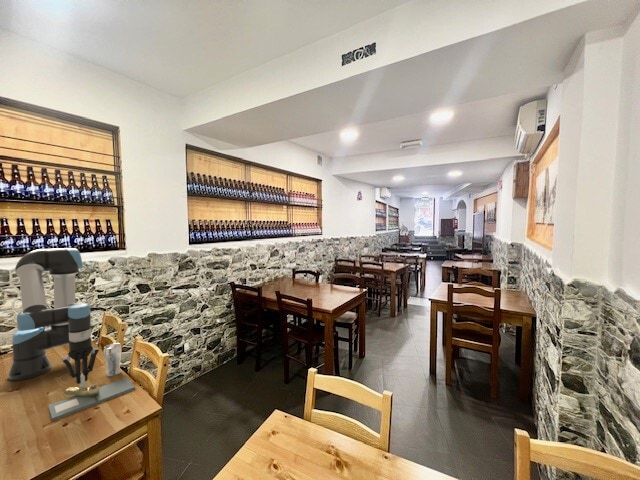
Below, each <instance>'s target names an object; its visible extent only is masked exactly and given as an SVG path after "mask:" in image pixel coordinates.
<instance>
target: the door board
mask: <svg viewBox="0 0 640 480" xmlns="http://www.w3.org/2000/svg"><path fill="white" fill-rule="evenodd" d="M135 389H136V387H135V385H134V384H133V383H132V381H131V380H130V379H129V378H128V377H124V378H122V379H119V380H115V381H114V382H110V383H108V384H105V385H102V386H99V394H98V395H96V396H94V397H89V396H71V397H68V398H65V399H62V400H59V401H57V402H53V403H51V404H48V411H49V415H50V418H51V421H52V422H54V421H57V420H59V419H61V418H64V417H68V416H70V415H72V414H74V413H77V412H81V411H83V410H86V409H88V408H90V407H94V406H96V405H98V404H101V403H103V402H106V401H108V400H112V399H114V398H116V397H119V396H121V395H124V394H126V393H129V392H131V391H135Z"/></svg>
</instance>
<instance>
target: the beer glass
mask: <svg viewBox="0 0 640 480" xmlns="http://www.w3.org/2000/svg"><path fill="white" fill-rule="evenodd" d="M121 344H122V343H119V342H116V343H115V342H114V343H109V344H106V345H105V347H104V362H105V365H106V373H105V376H106V377H108V378H111V377H115V376H117V375H118V376H119V375H120V374H121V372H122V371H121V368H120V365H121V364H120V363H121V358H122V346H121Z"/></svg>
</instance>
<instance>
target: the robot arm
mask: <svg viewBox="0 0 640 480" xmlns="http://www.w3.org/2000/svg"><path fill="white" fill-rule="evenodd" d="M82 268H83V260H82V255H81V253H80V250H79V249H78V248H74V247H64V248H39V249H35V250H32V251H31V250H30V251H29V252H27V253H25V254H24V255H22V257H21V258H20V259H19V260H18V261H17V263H16V265H15V269H14V270H15V271H14V272H15V275H16V276H17V277H18V278H19V289H20V296H21V297H20V298H21V306H22V307H21V308H22V313H18V314H17V315H16V326H17V327H16V328H17V330H18V331H16V332H15V333H13V335H12V341H11V344H12V364H11V366H10V370H9V371H8V375H7V376H8V380H10V381H23V380H27V379H31V378H35V377H38V376H40V375H44V374H45V373H46V372H49V370H51V367H52V363H51V361H50V359H49V357H48V355H47V353H46V352H47V350H49V349H54V348H58V347H62V346H69V347H68V348H69V349H68V350H69V351H68V353H67V356H65V357H63V358H62V359H61V361H62V362H63V363H64V364H65V367H66V370H67V372H68V375H69V376H70V378H72V379H74V378H75V383H76V384H77V385H78V387H79V388H86V382H87V381H88V376H89V373H90V372H92V371H93V370H94V366H95V362H96V358H97V355H98V353H99V352H100V350H99V349H98V348H97V347H96V348H95V347H93V346H92V325H91V320H92V319H91V312H92V311H91V306H90V304H87V303H77V302H76V275H77V274H78V273H79V272H80V271H79V270H81V269H82ZM44 272H49V275H51V276H52V277H53V307H52V308H48V306H47V299H46V293H45V287H44V279H43V274H44ZM89 355H90V358H88V357H89ZM71 359H73V361H74V369H73V365H72V363H71V362H70V361H71ZM88 359H89V360H88ZM81 365H82V366H81ZM81 368H82V369H81ZM81 372H82V373H81Z"/></svg>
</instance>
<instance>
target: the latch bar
mask: <svg viewBox="0 0 640 480" xmlns="http://www.w3.org/2000/svg"><path fill="white" fill-rule="evenodd" d="M99 387H100V386H99V385H92V386H91V387H85V388H79V386H77V387H68V388H65V390H64V396H65V397H66V396H71V397H73V396H89V397H94V396H96V395H98V394H99Z"/></svg>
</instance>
